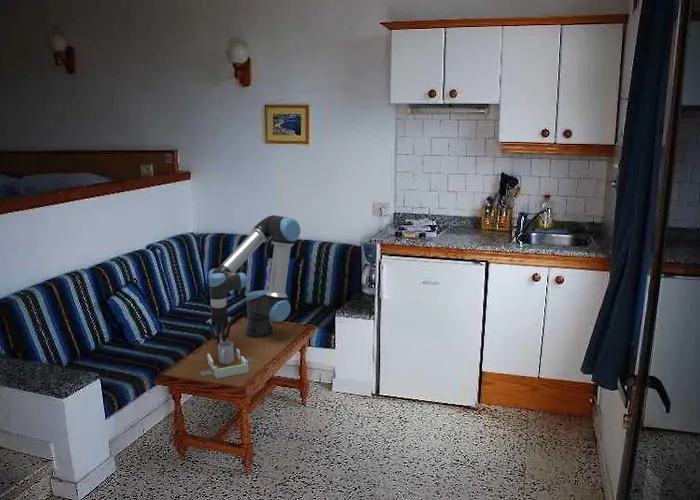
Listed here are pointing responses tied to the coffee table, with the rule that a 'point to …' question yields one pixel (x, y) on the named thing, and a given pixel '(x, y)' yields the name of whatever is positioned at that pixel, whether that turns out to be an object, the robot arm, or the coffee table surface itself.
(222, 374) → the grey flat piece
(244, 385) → the coffee table surface
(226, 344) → the cup
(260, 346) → the coffee table surface
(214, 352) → the coffee table surface
